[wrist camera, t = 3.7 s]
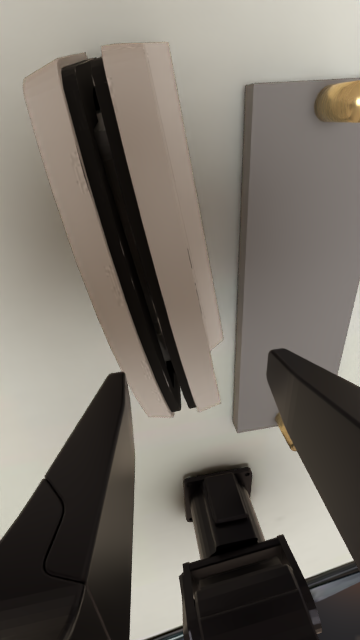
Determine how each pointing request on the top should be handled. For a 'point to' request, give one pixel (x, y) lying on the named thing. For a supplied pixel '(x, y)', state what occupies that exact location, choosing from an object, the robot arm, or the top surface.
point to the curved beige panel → (132, 215)
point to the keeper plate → (295, 234)
